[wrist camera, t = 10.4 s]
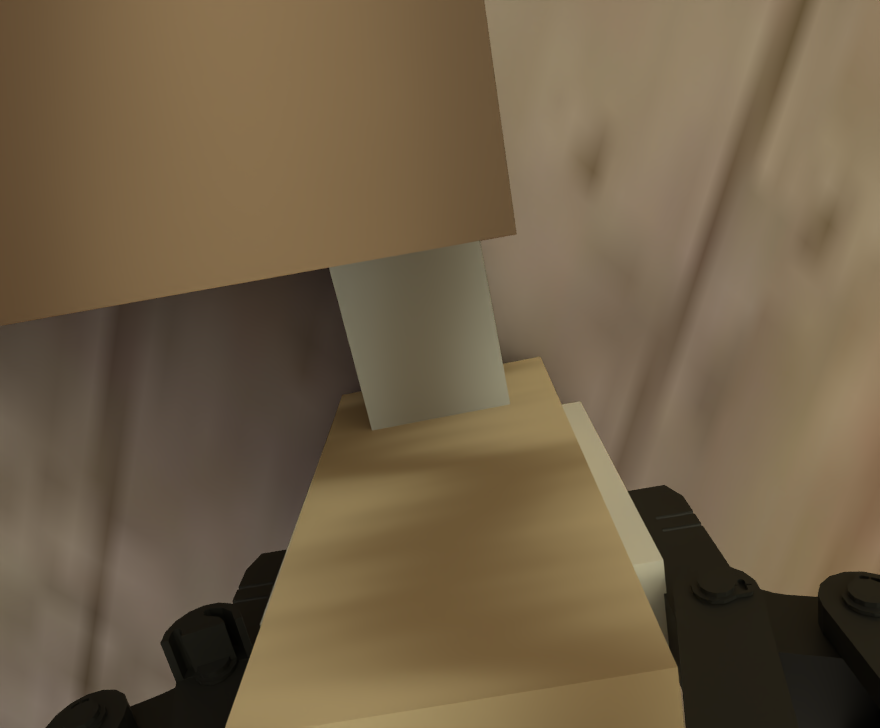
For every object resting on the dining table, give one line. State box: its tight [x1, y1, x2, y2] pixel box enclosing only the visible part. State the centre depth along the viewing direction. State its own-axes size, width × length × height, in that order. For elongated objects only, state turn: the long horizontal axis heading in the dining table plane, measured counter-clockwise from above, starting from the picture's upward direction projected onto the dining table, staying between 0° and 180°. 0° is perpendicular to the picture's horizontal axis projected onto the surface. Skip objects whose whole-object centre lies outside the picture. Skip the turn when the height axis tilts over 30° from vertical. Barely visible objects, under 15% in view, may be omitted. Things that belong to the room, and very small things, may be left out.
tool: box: [225, 241, 684, 728], centre depth 10 cm, size 5×22×10 cm, turn 12°
